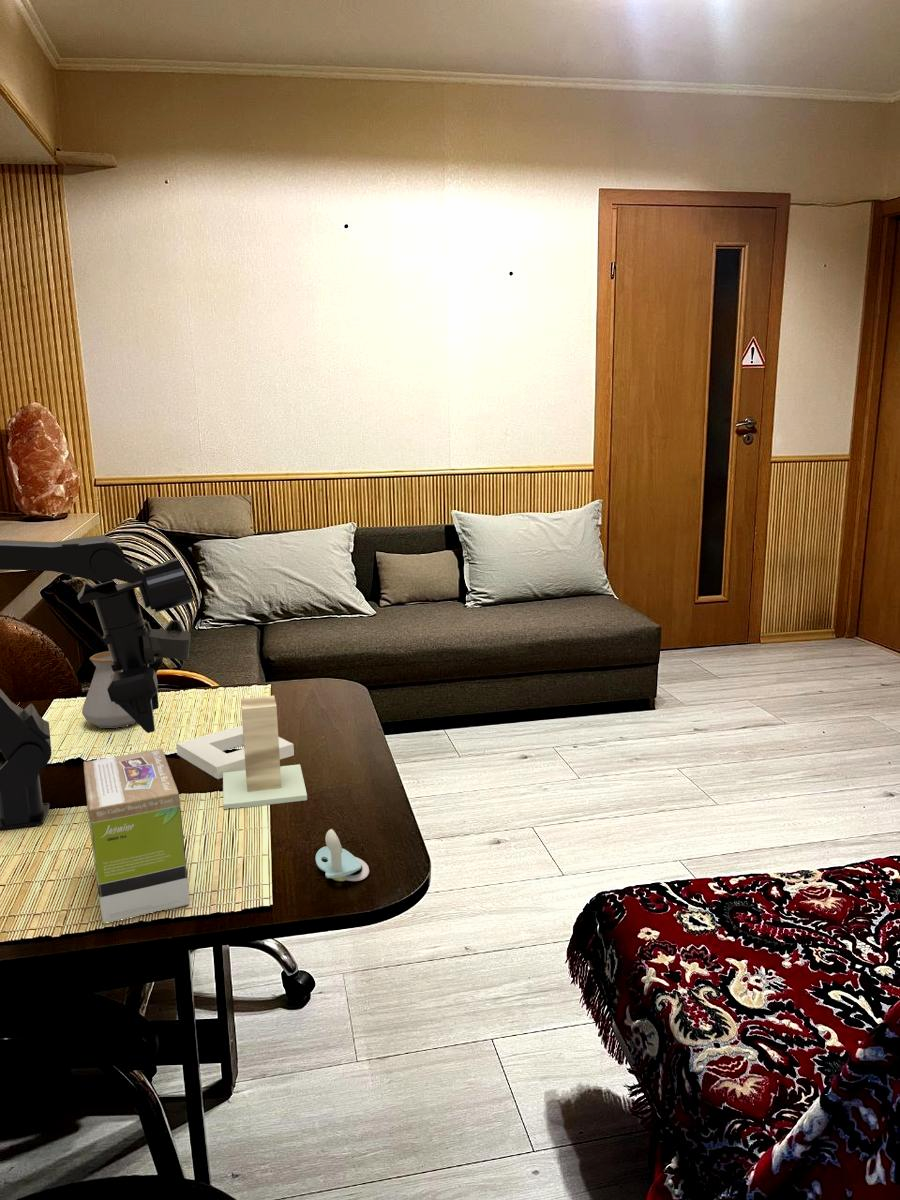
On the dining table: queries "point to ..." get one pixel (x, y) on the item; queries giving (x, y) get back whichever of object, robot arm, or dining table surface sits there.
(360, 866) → the pacifier
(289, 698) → the dining table surface
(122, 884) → the tea box
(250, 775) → the birch block
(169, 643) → the robot arm
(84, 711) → the coffee pot
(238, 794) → the sage mat
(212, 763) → the pocket holder
